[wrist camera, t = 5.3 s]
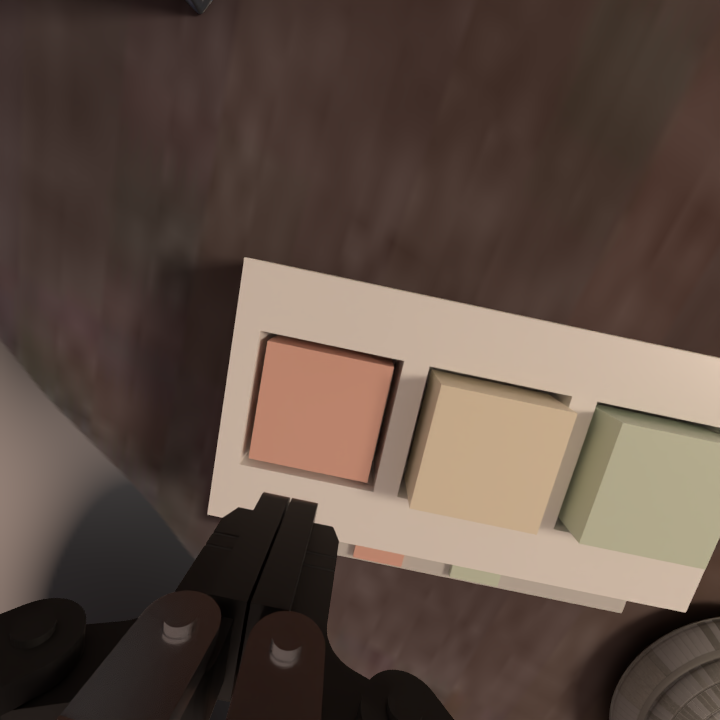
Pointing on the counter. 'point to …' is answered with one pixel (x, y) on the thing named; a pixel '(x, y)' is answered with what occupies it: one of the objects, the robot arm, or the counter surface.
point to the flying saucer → (673, 677)
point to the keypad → (401, 414)
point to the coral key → (320, 407)
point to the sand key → (486, 452)
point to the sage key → (646, 488)
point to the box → (199, 5)
